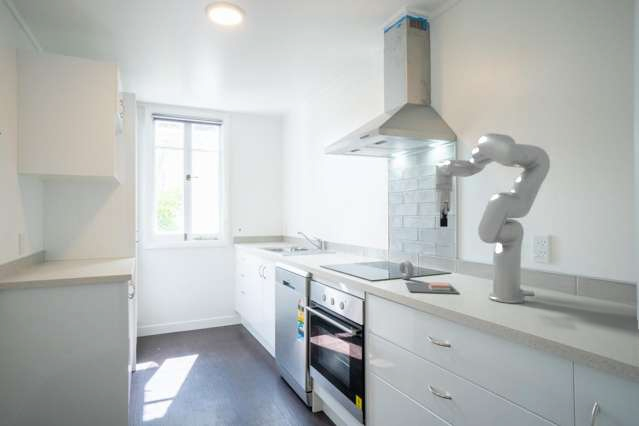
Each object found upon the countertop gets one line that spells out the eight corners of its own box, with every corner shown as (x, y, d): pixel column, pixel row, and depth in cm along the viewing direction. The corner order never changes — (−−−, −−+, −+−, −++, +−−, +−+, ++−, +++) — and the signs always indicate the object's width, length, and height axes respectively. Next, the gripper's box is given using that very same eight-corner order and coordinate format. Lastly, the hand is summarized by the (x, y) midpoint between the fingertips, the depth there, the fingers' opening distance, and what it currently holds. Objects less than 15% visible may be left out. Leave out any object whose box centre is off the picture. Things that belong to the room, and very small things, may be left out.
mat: (449, 284, 172) (449, 283, 172) (459, 294, 152) (459, 292, 152) (405, 283, 175) (405, 282, 175) (410, 292, 155) (410, 291, 155)
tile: (447, 282, 163) (450, 285, 157) (447, 287, 163) (450, 290, 157) (428, 282, 165) (431, 285, 158) (428, 286, 165) (431, 289, 158)
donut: (396, 278, 189) (396, 258, 189) (402, 277, 191) (402, 258, 191) (409, 281, 180) (409, 261, 180) (415, 280, 182) (415, 260, 182)
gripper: (433, 189, 183) (432, 226, 183) (438, 187, 168) (438, 227, 168) (448, 189, 182) (448, 226, 182) (455, 187, 167) (455, 227, 167)
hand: (443, 226), depth 175 cm, fingers closed
